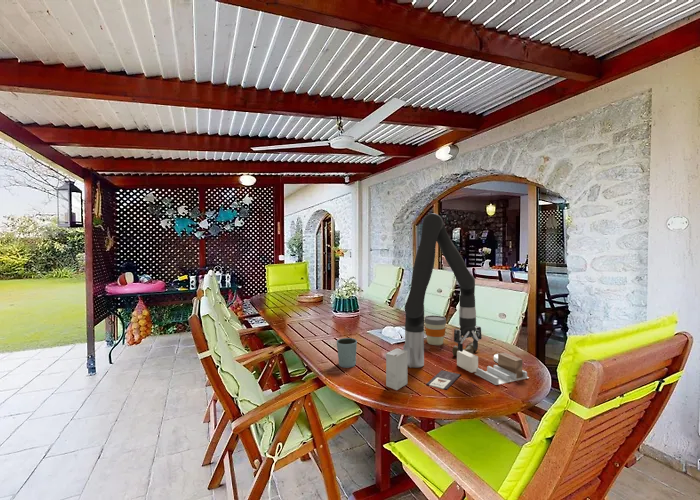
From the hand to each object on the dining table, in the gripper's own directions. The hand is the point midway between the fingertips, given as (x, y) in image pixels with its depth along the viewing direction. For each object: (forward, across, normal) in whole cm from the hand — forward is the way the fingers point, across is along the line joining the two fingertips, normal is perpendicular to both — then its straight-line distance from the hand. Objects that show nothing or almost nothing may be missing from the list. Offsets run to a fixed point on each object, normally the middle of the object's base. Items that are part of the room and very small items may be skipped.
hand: (468, 349), depth 165 cm
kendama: (+10, +13, +17) cm, 23 cm away
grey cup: (+9, -50, +29) cm, 59 cm away
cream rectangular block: (+10, 0, 0) cm, 10 cm away
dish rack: (+10, +7, -13) cm, 18 cm away
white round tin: (+11, +22, 0) cm, 25 cm away
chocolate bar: (+10, -18, -5) cm, 21 cm away
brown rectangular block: (+9, +12, -13) cm, 20 cm away
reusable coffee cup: (+10, +11, +41) cm, 44 cm away
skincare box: (+9, -40, -2) cm, 41 cm away
